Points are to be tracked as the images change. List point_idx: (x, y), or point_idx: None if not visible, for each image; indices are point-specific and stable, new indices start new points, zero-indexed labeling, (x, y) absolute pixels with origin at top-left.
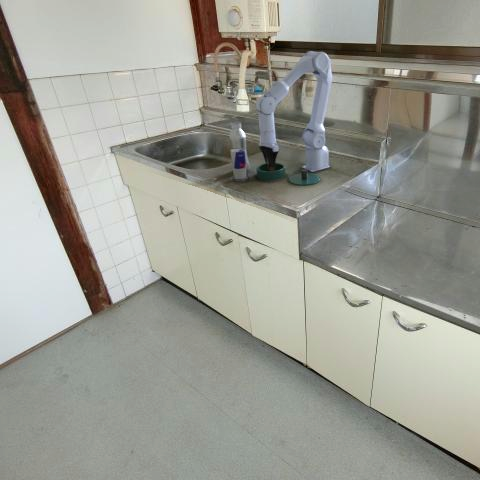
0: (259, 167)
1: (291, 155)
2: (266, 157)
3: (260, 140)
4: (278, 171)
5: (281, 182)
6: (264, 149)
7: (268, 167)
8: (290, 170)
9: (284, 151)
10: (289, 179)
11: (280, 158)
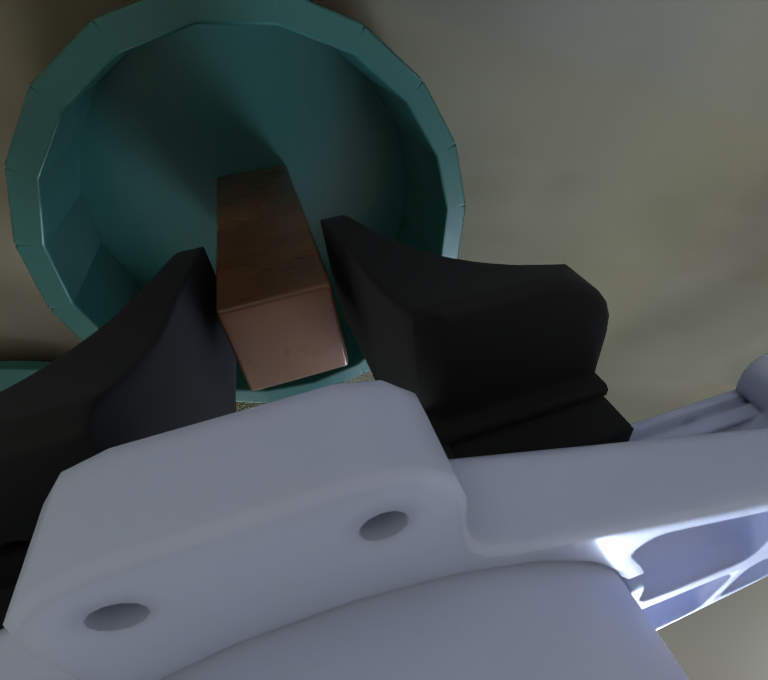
0: (379, 81)
1: (644, 396)
2: (322, 286)
3: (761, 506)
4: (77, 325)
5: (22, 275)
6: (82, 454)
7: (245, 220)
8: (370, 377)
9: (736, 365)
10: (15, 373)
11: (654, 333)
